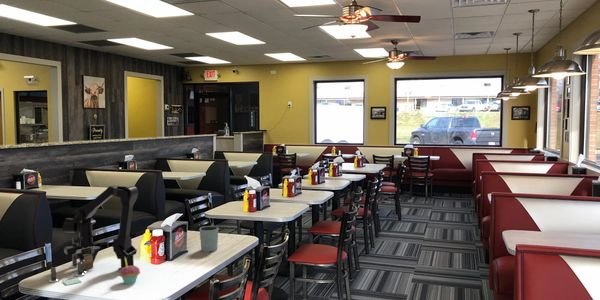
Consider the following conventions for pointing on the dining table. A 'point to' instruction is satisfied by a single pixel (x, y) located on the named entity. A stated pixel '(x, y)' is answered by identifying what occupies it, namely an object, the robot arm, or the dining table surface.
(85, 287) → the dining table surface
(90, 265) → the walnut block
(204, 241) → the grey plant pot
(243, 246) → the dining table surface
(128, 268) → the cupcake
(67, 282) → the coaster
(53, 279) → the post course
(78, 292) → the dining table surface
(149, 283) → the dining table surface
